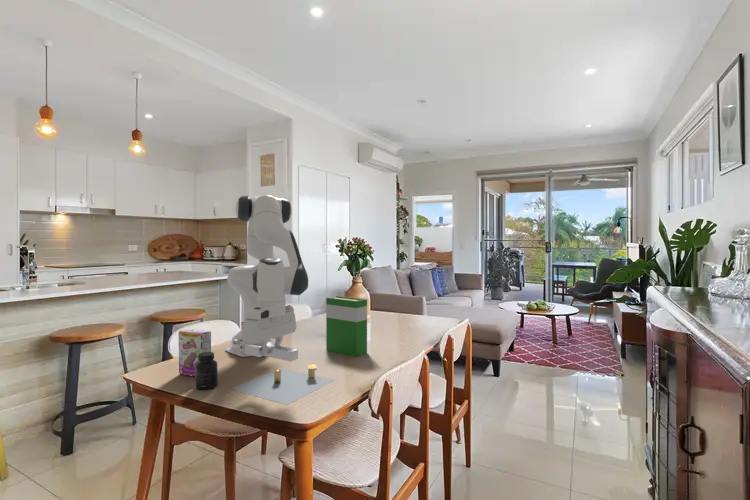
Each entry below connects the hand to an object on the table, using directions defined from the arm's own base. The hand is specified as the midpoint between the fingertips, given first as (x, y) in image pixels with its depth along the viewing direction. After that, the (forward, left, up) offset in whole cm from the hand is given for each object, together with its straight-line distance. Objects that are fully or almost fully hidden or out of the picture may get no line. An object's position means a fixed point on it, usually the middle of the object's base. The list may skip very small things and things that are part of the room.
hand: (271, 352), depth 124 cm
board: (-2, +8, -14) cm, 16 cm away
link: (+1, 0, -1) cm, 1 cm away
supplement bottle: (-23, -7, -14) cm, 28 cm away
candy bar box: (-39, 0, -14) cm, 42 cm away
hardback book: (-7, +53, -14) cm, 56 cm away
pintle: (-5, +8, -13) cm, 16 cm away
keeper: (+2, +17, -13) cm, 22 cm away
